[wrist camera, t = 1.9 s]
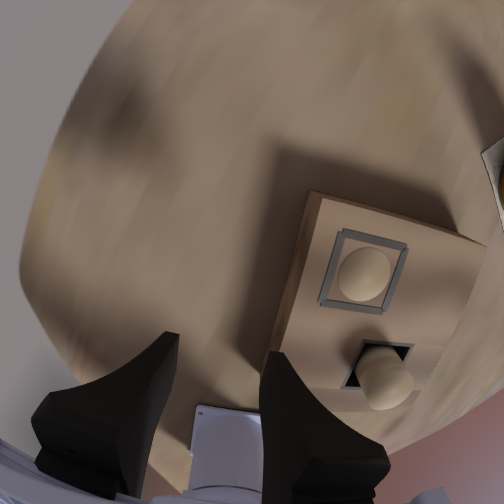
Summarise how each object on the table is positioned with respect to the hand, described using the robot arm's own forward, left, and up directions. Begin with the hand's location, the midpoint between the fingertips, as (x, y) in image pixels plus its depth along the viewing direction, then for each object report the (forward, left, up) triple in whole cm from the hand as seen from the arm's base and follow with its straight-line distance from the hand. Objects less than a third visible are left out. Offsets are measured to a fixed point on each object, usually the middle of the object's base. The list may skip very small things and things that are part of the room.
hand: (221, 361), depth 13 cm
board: (-1, -11, -10) cm, 15 cm away
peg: (-4, -12, -7) cm, 15 cm away
